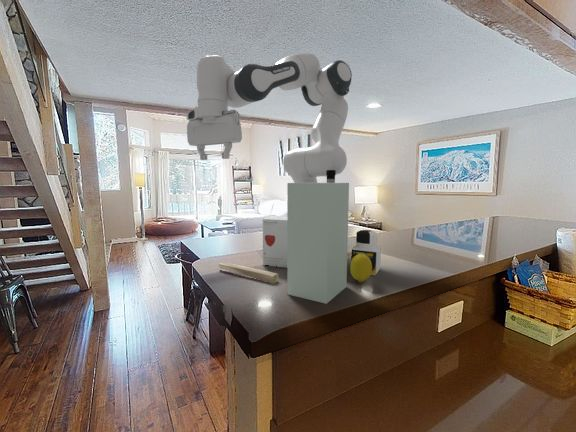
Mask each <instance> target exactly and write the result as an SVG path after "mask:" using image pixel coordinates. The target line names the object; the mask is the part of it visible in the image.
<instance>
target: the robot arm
mask: <svg viewBox="0 0 576 432" xmlns="http://www.w3.org/2000/svg"><path fill="white" fill-rule="evenodd" d="M352 76H353V75H352V71H351V68H350V66H349V65H348V63H346V62H345V61H343V60H340V59H339V60H335V61H332V62H330V63H329V64H328V65H327V66H324V68H322V67H321V64H320V60H319V59H318V57H317V56H316V55H314V54H313V53H310V52H303V53H302V52H301V53H300V52H299V53H295V54H291V55H288V56H285V57H283V58H281V59H279V60H278V61H276V62H275V64H272V65H269V66H267V65H266V66H264V65H261V64H256V63H248V64H246V65H244V66H243V67H242V68H240V69H239V70H238V71H235V70H234V69H233V68H232V67H230V66H229V64H228V63H227V62H226V61H225V58H224V57H223V56H222V55H221V56H220V55H216V54H211V55H206V56H203V57H202V58H201V59H199V61H198V64H197V68H196V88H197V92H198V97H197V105H196V106H195V107H194V108H193V109H191V110H190V111H188V112H187V113H186V120H187V121H188V122H187V125H186V137H187V138H186V140H187V143H188V146H189V145H190V147H196V150H197V151H198V152H197V153H199V159H200V160H201V161H207V160H208V154H207V153H206V151H205V149H206V146H216V145H217V146H218V145H223V147H224V150H223V152H221V158H222V160H229V159H230V152H231V151H232V148H233V144H236V143H237V144H239V143H241V141H242V139H243V133H242V124H241V119H240V113H239V112H238V111H237V110H236V109H238V108H242V107H245V106H248V105H249V104H252V103H256V102H259V101H263V100H264V99H266V98H267V97H268V95H269V94H270V93H271V91H272V90H274V89H276V88H280V89H281V90H283V91H292V90H296V89H299V88H300V89H301V93H302V96H303V99H304V100H305V102H306V103H307V104H309V106H312V107H316V106H320V105H321V109H320V110H319V112H318V115H317V116H316V119H315V121H314V123H313V125H312V128H311V130H310V133H311V134H310V135H311V138H312V140H313V141H314V143H315V144H314V145H312V146H305V147H296V148H293V149H291V150H287V152H286V153H285V154H284V156H283V160H282V165H283V168H284V171H285V172H286V173H287V174H288V175H289V177H291V179H292V181H293V183H319V182H318V180H317V177H327V175H326V171H327V170H335V171H336V175H335V176H337V175H340V174H341V173H343V171H344V170H345V169H346V166H347V163H348V162H347V161H348V159H347V154H346V151H345V150H344V149H343V148H342V147H341V146H340V144H339V142H340V137H341V134H342V131H343V129H344V127H345V124H346V120H347V117H348V111H349V105H348V102H347V100H346V99H345V97H344V96H347V95H348V93H349V92H350V86H351V84H352ZM229 107H231V108H234V109H230V110H228V109H229ZM235 108H236V109H235Z"/></svg>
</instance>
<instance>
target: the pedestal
mask: <svg viewBox="0 0 576 432" xmlns="http://www.w3.org/2000/svg"><path fill="white" fill-rule="evenodd" d="M286 186H287V187H286V188H287V189H286V190H287V194H286V195H287V198H286V199H287V202H286V204H287V210H286V211H287V212H286V213H287V273H286V274H287V278H286V279H287V289H286V290H287V295H289V296H293V297H297V298H301V299H306V300H310V301H314V302H317V303H322V304H325V305H327V304H328V303H329V302H330V301H332V300H333V299H334V298H335V297H336V296H337V295H338V294H340V293H341V292H343V290H345V289H346V288H347V282H348V281H347V276H348V274H347V273H348V244H349V243H348V242H349V241H348V240H349V239H348V238H349V237H348V235H349V203H350V201H349V200H350V199H349V198H350V183H349V182H335V183H327V182H318V183H294V182H288V183H287V185H286Z"/></svg>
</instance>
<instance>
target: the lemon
mask: <svg viewBox="0 0 576 432" xmlns="http://www.w3.org/2000/svg"><path fill="white" fill-rule="evenodd" d="M349 268H350V269H349V271H350V274H351V276H352V277H353V279H355V280H356V281H358V282H359V283H363V282H364V281H367V280H368V279H369V278H370V277H371V276H372V275H371V272H372V263H371V260H370V259H369V257H368V256H366V255H364V254H363V253H360V254H357V255H355V256H354V257H353V259H352V261H351V262H350V265H349Z"/></svg>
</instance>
